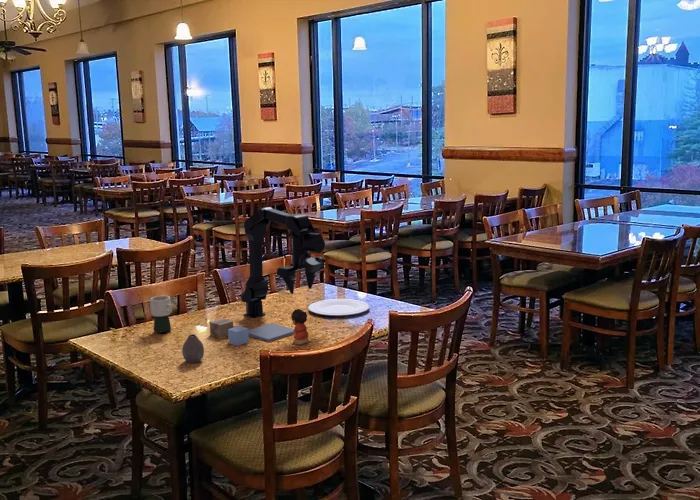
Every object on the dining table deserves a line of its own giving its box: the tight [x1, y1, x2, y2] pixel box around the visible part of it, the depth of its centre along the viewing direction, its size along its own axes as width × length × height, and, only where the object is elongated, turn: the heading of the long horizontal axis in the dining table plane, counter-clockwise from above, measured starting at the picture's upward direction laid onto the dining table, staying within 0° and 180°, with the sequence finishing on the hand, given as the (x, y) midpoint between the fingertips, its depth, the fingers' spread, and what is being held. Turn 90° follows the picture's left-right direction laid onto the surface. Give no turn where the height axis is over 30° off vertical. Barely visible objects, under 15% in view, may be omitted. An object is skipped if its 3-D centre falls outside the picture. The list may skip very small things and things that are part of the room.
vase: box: [181, 333, 205, 364], centre depth 230 cm, size 7×7×9 cm
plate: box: [308, 298, 370, 318], centre depth 288 cm, size 25×25×2 cm
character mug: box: [149, 295, 173, 333], centre depth 262 cm, size 11×7×13 cm, turn 57°
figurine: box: [290, 308, 310, 345], centre depth 247 cm, size 6×6×12 cm
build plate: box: [248, 322, 294, 343], centre depth 259 cm, size 14×14×1 cm
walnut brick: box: [209, 318, 234, 339], centre depth 258 cm, size 6×6×5 cm
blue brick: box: [227, 325, 250, 346], centre depth 249 cm, size 5×5×5 cm
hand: (301, 291), depth 261 cm, fingers open, 9 cm apart
